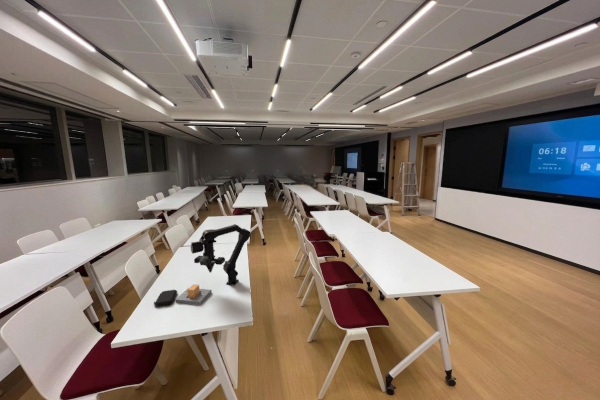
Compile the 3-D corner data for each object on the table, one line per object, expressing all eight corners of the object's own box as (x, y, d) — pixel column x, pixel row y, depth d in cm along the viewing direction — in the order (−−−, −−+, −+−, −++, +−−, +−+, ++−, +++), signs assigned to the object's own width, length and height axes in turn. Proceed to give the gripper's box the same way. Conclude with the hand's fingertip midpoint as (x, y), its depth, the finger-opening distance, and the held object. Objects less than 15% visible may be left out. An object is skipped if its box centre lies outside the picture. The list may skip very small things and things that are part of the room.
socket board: (188, 290, 155) (188, 287, 154) (211, 292, 152) (211, 289, 152) (175, 302, 142) (175, 299, 142) (200, 304, 140) (199, 301, 139)
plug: (194, 294, 150) (193, 284, 149) (199, 295, 150) (199, 284, 149) (188, 300, 144) (187, 289, 143) (194, 300, 144) (193, 290, 143)
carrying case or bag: (159, 294, 150) (151, 308, 136) (159, 290, 150) (151, 304, 136) (178, 292, 153) (172, 305, 139) (177, 288, 153) (171, 301, 139)
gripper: (187, 253, 145) (190, 277, 148) (216, 255, 142) (217, 279, 145) (198, 247, 156) (200, 269, 159) (224, 248, 153) (226, 271, 156)
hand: (210, 272), depth 154 cm, fingers closed
